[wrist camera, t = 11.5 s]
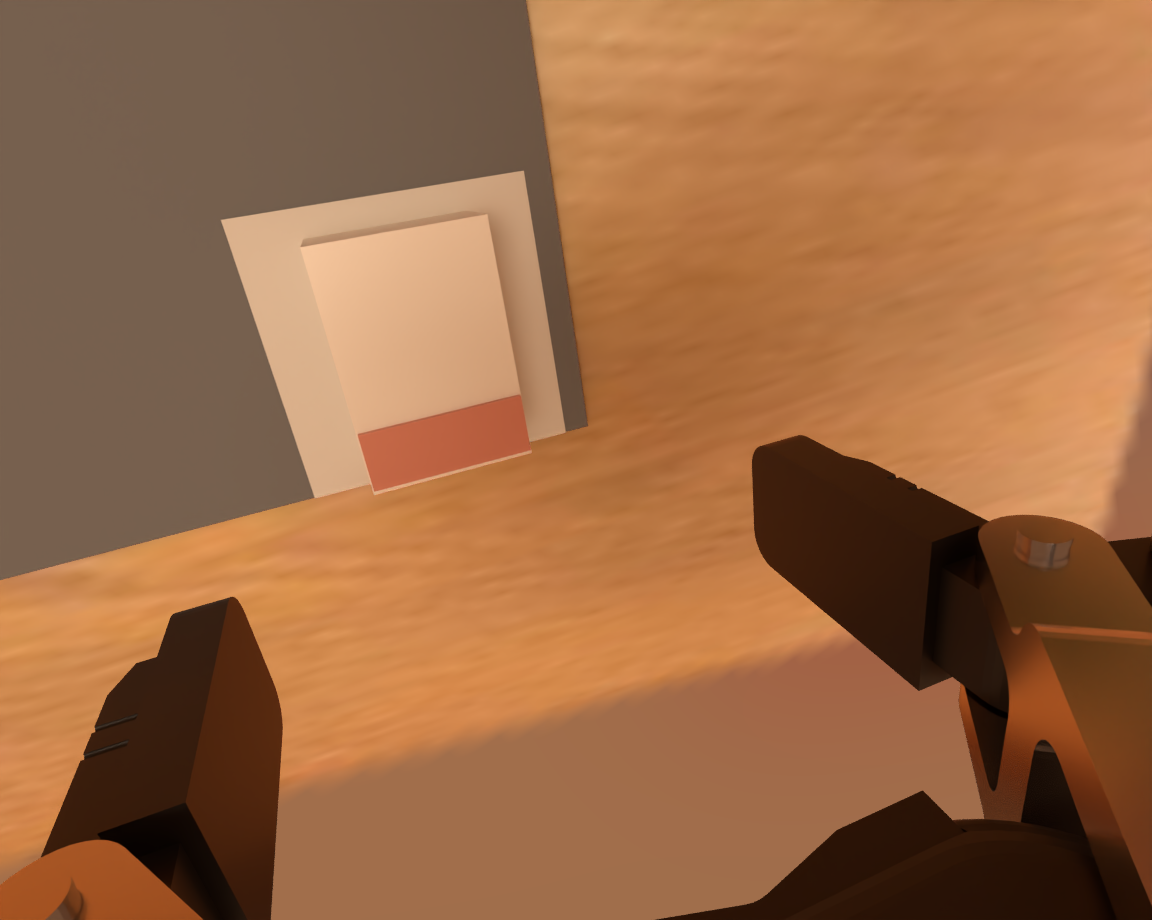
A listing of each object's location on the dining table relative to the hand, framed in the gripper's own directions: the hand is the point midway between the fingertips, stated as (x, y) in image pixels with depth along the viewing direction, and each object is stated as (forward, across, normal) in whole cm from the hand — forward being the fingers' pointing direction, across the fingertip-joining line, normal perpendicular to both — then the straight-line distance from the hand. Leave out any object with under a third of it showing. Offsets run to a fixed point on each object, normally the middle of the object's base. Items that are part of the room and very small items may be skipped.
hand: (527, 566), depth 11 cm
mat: (+17, +5, -4) cm, 18 cm away
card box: (+16, 0, 0) cm, 16 cm away
